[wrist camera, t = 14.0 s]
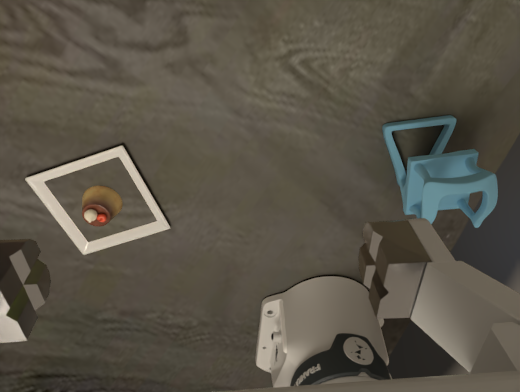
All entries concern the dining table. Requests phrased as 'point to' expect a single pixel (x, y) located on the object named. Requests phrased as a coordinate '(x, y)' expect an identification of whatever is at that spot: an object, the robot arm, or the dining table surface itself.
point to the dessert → (98, 203)
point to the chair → (441, 175)
